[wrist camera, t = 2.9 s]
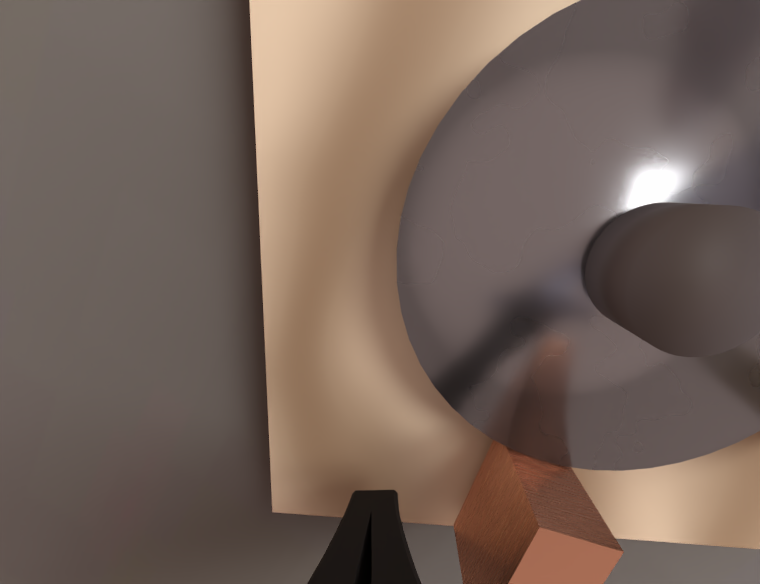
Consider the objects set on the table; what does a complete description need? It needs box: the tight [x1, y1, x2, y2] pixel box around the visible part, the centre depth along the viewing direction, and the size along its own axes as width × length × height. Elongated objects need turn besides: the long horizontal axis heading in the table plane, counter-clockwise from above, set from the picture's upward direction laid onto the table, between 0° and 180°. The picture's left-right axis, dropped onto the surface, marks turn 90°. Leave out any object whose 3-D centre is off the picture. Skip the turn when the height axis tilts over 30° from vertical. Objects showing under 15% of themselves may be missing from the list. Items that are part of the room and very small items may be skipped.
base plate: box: [249, 0, 760, 549], centre depth 10 cm, size 20×20×5 cm
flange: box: [397, 0, 760, 584], centre depth 9 cm, size 16×12×4 cm
